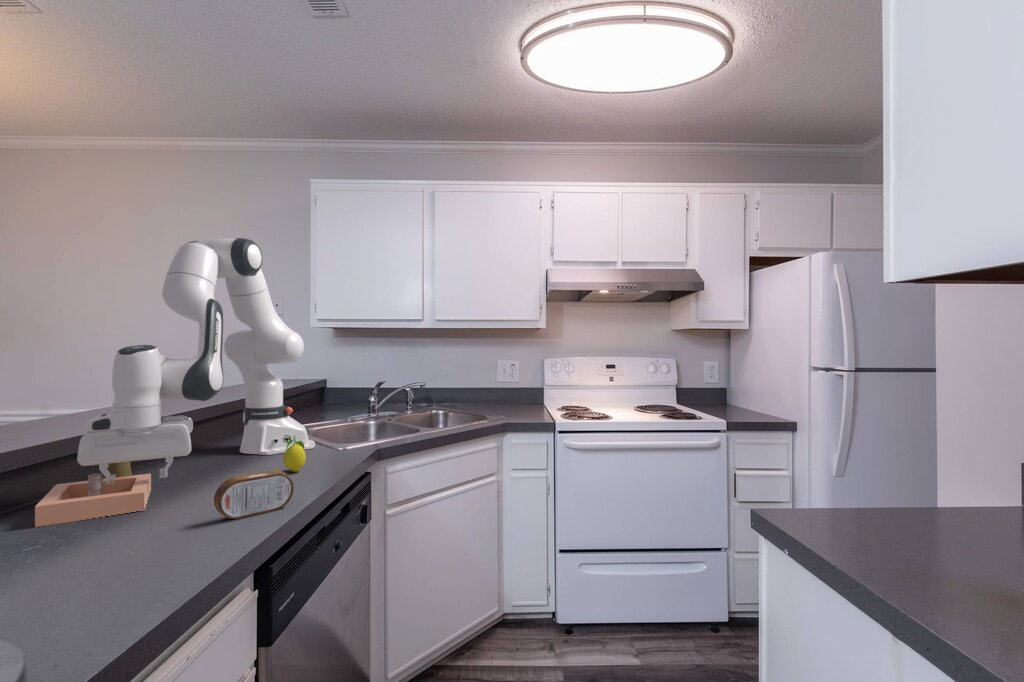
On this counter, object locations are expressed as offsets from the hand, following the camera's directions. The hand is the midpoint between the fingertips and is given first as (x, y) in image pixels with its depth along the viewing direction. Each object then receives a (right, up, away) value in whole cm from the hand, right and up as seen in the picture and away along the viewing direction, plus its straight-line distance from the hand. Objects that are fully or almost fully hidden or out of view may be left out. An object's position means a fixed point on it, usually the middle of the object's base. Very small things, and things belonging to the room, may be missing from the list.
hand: (137, 480), depth 111 cm
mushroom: (-6, -5, -4) cm, 9 cm away
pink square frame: (-6, -5, -4) cm, 8 cm away
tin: (+30, -5, -7) cm, 31 cm away
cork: (-13, -5, +12) cm, 18 cm away
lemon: (+24, -5, +25) cm, 35 cm away
